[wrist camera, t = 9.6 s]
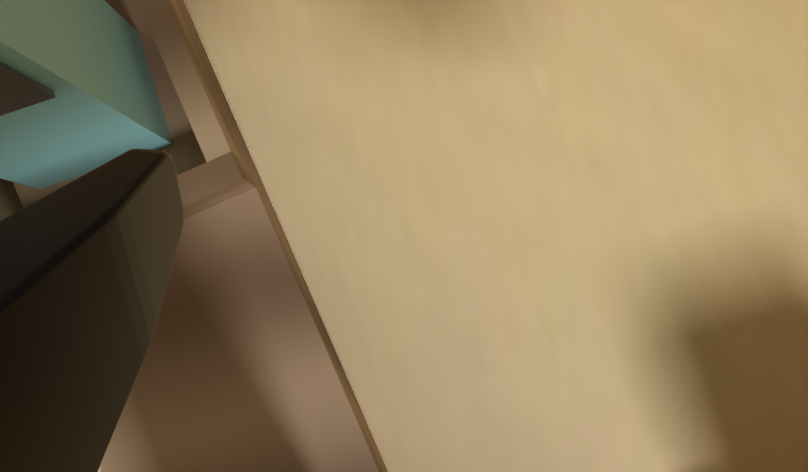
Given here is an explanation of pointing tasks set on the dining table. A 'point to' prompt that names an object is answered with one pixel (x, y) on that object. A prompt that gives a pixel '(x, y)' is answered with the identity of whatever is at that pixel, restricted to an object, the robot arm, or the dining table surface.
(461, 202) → the dining table surface
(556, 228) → the dining table surface
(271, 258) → the brown wooden stand
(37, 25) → the finger block
